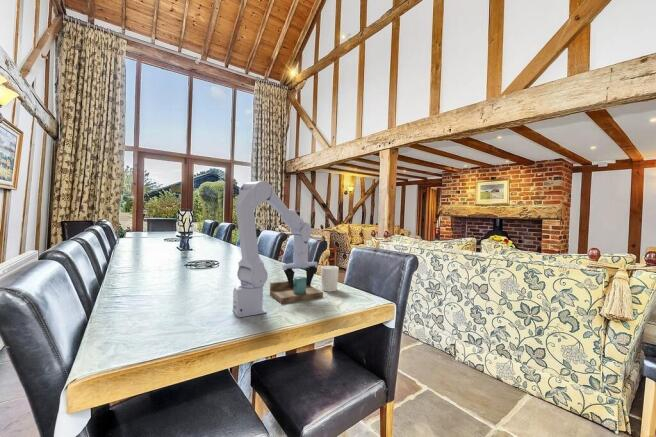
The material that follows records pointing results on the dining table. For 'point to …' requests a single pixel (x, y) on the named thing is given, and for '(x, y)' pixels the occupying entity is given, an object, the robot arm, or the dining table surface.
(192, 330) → the dining table surface
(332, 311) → the dining table surface
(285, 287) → the walnut shelf
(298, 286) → the teal round canister
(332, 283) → the white cup
